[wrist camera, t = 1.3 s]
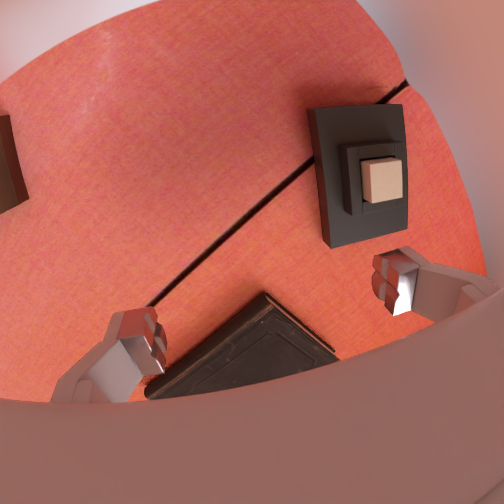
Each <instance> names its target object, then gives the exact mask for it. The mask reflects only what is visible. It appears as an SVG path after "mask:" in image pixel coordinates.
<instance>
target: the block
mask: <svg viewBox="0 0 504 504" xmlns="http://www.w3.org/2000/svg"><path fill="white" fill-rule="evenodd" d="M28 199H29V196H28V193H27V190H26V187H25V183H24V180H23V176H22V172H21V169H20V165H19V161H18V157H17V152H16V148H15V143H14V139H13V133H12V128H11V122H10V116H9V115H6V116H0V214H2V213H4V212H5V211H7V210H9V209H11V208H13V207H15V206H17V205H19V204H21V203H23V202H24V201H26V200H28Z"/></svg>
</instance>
